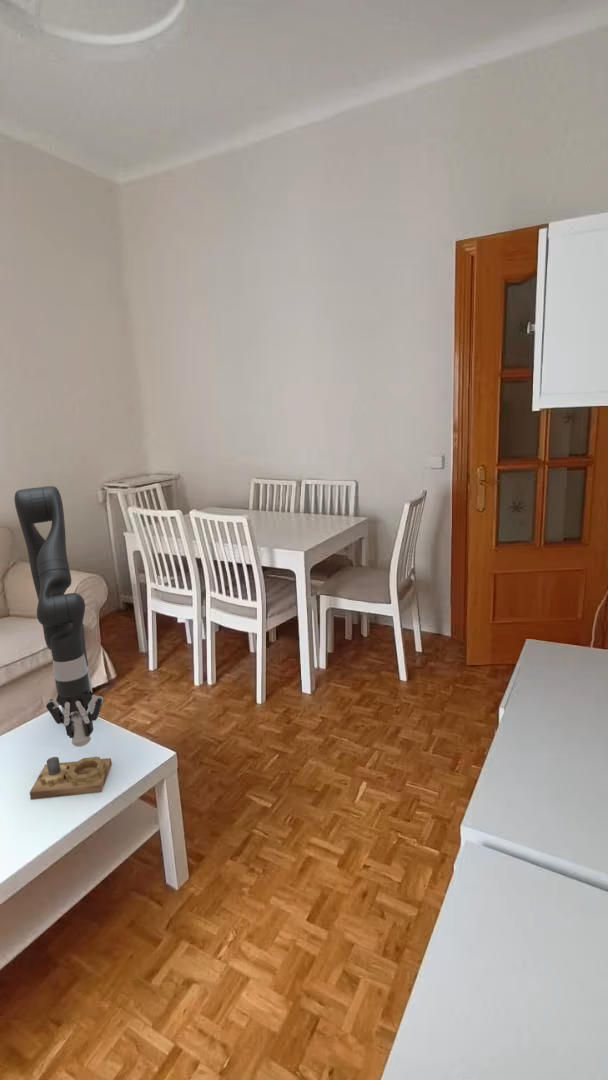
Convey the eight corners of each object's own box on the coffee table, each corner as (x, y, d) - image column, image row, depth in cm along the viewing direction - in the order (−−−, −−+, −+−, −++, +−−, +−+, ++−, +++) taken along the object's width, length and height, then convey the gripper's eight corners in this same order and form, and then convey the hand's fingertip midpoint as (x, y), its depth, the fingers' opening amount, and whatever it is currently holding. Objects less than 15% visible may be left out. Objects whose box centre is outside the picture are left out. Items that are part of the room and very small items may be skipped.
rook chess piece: (84, 748, 137) (80, 719, 135) (68, 746, 138) (63, 718, 136) (94, 737, 141) (90, 709, 139) (79, 736, 142) (74, 708, 140)
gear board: (46, 770, 147) (42, 747, 145) (112, 764, 148) (109, 741, 147) (30, 799, 136) (26, 774, 134) (101, 792, 138) (98, 767, 136)
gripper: (104, 663, 139) (112, 724, 143) (46, 668, 138) (56, 729, 142) (96, 677, 132) (105, 741, 136) (35, 682, 131) (46, 747, 135)
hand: (80, 735), depth 139 cm, fingers closed on rook chess piece, 3 cm apart
